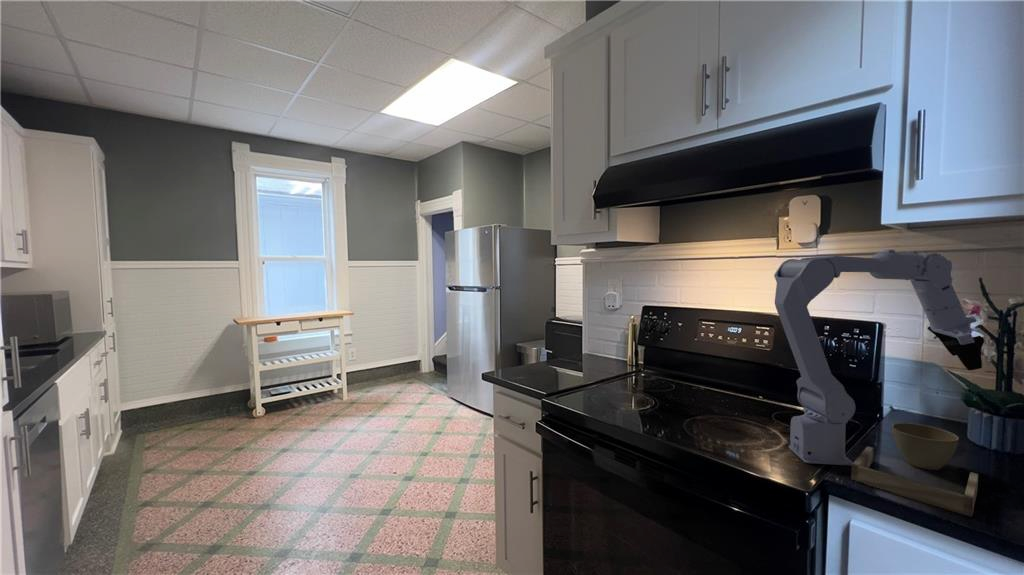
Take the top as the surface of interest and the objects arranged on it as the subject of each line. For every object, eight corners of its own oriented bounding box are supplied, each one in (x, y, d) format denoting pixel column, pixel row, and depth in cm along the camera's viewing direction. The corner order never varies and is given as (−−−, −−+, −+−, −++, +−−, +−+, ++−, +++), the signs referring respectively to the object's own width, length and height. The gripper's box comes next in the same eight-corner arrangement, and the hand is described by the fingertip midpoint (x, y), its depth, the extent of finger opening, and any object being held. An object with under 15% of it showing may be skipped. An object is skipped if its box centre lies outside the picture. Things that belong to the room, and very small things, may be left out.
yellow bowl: (972, 478, 82) (973, 442, 82) (912, 474, 84) (913, 439, 84) (932, 455, 92) (933, 423, 91) (879, 452, 94) (880, 421, 93)
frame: (972, 517, 70) (972, 499, 69) (851, 480, 82) (851, 465, 82) (977, 489, 78) (978, 473, 78) (867, 459, 90) (867, 446, 90)
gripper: (983, 309, 81) (1010, 370, 82) (950, 289, 94) (975, 343, 94) (935, 320, 85) (962, 379, 86) (910, 300, 98) (934, 351, 98)
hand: (966, 361), depth 90 cm, fingers open, 7 cm apart
